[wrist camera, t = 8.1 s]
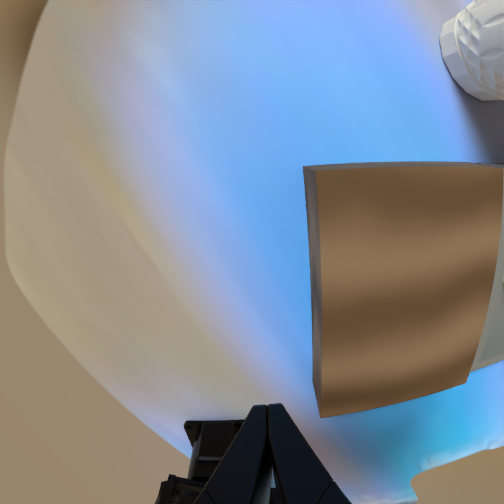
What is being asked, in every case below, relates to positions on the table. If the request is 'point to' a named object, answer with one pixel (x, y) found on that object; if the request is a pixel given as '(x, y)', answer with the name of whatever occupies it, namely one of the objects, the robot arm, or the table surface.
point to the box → (493, 309)
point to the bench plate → (398, 277)
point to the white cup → (476, 49)
